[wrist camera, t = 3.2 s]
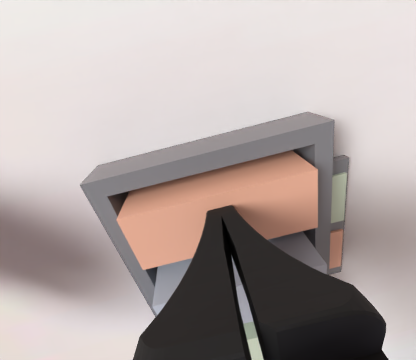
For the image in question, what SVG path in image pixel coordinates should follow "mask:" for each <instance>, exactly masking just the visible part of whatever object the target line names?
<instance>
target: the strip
mask: <svg viewBox="0 0 416 360" xmlns="http://www.w3.org/2000/svg"><path fill="white" fill-rule="evenodd" d="M348 165H349V158H348V157H347V156H345V155H343V156H339V157H335V158H333V175H332V204H331V234H330V263H329V274H333V273H338V272H341V265H342V251H343V236H344V222H345V208H346V194H347V179H348Z"/></svg>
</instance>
